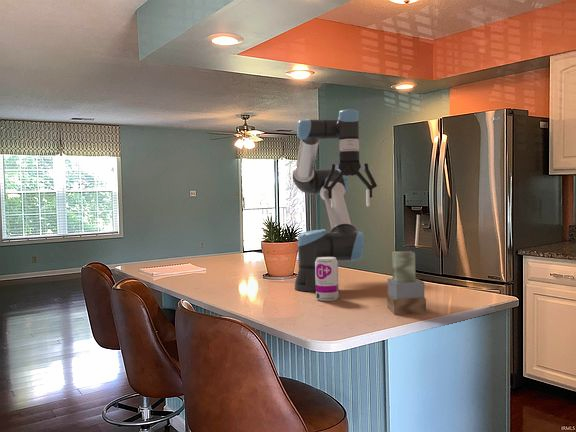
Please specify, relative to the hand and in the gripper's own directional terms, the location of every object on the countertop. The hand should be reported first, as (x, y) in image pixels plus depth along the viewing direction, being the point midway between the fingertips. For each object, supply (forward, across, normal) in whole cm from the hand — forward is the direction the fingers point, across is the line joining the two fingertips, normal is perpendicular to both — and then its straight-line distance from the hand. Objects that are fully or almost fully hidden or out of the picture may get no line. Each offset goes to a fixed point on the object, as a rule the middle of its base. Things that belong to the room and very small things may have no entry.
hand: (350, 207), depth 198 cm
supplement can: (+33, -11, -12) cm, 37 cm away
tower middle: (+28, +12, -34) cm, 45 cm away
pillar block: (+23, +11, -33) cm, 42 cm away
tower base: (+33, +12, -34) cm, 49 cm away
